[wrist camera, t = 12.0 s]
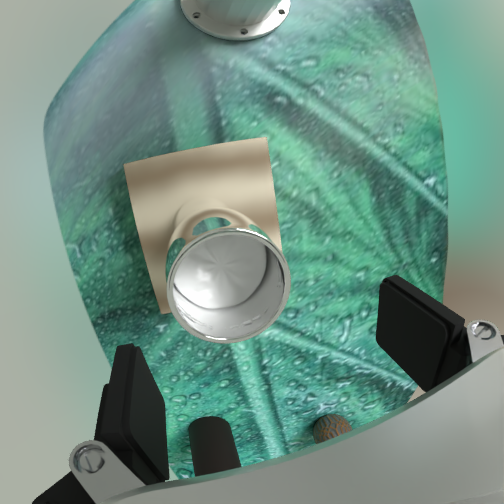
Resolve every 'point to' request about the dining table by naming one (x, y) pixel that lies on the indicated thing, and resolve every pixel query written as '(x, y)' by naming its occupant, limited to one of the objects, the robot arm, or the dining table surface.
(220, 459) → the bottle
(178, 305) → the beer glass
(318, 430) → the vase
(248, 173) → the plate
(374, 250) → the dining table surface
